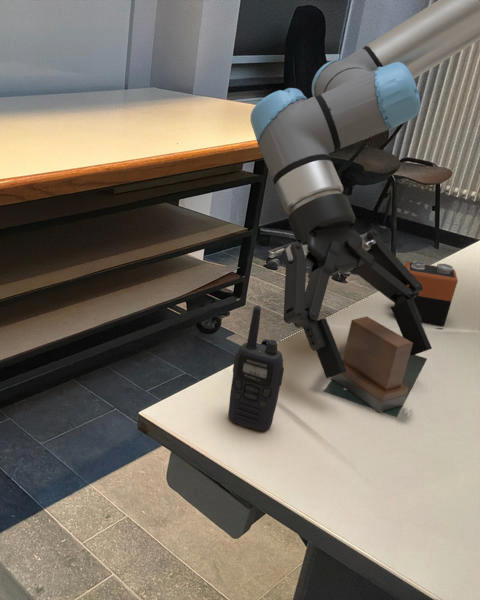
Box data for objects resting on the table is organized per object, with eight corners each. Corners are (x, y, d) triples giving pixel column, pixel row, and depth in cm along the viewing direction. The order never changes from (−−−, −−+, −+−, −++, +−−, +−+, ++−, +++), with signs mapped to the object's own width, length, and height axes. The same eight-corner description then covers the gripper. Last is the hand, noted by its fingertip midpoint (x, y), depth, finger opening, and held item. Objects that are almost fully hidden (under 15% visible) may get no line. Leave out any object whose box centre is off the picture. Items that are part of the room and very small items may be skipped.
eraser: (330, 378, 86) (343, 318, 82) (354, 371, 87) (368, 313, 83) (379, 412, 79) (395, 350, 75) (404, 405, 81) (421, 343, 77)
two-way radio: (222, 421, 79) (238, 307, 72) (234, 402, 82) (251, 291, 76) (268, 437, 76) (290, 320, 70) (279, 417, 80) (301, 304, 73)
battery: (441, 336, 99) (460, 274, 94) (391, 327, 101) (407, 265, 96) (439, 323, 102) (457, 262, 98) (391, 314, 104) (406, 255, 100)
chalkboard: (356, 342, 96) (358, 335, 96) (431, 365, 91) (434, 357, 91) (314, 399, 83) (315, 391, 83) (399, 430, 78) (401, 422, 78)
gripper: (368, 207, 94) (430, 351, 89) (219, 229, 85) (278, 392, 79) (408, 180, 87) (478, 334, 82) (251, 201, 78) (318, 377, 72)
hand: (380, 363), depth 80 cm, fingers open, 13 cm apart
